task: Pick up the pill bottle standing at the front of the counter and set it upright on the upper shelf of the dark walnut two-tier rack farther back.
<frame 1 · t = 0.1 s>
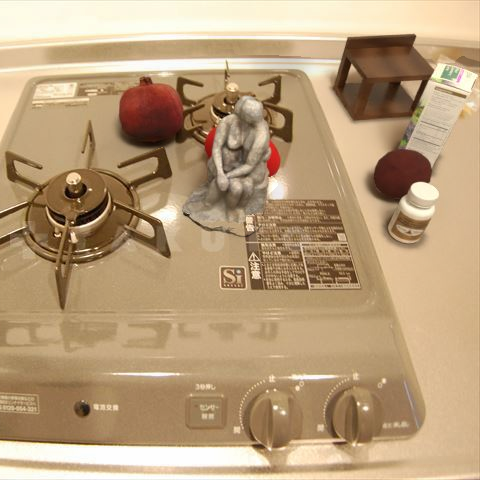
sculpture: (189, 167, 69), point 9 cm above the counter
rack: (375, 101, 97), on the counter
fruit: (155, 142, 87), on the counter
pill bottle: (403, 233, 75), on the counter
heart: (241, 125, 74), point 10 cm above the counter
syrup box: (414, 159, 86), on the counter
potato: (392, 193, 81), on the counter
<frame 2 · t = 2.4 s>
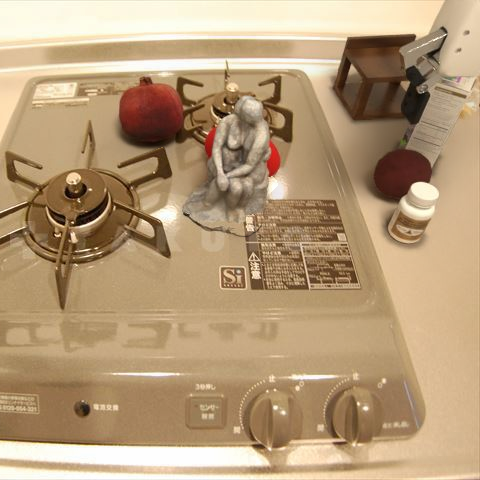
hand: (448, 115, 63), 18 cm above the counter, tool pointing down, fingers open, 9 cm apart
nothing on the counter moved.
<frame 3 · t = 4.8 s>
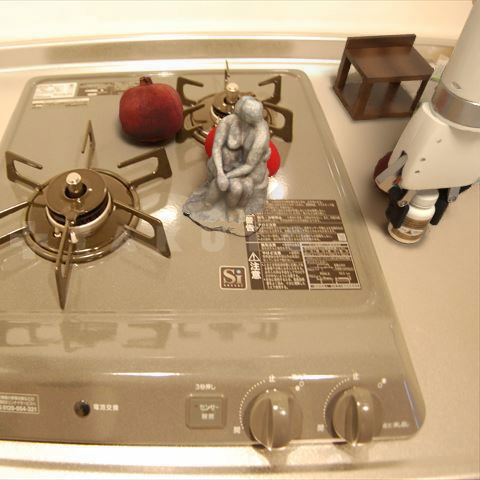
hand: (410, 218, 73), 3 cm above the counter, tool pointing down, fingers closed on pill bottle, 4 cm apart
pill bottle: (403, 233, 75), on the counter, touching gripper
everything else where it was.
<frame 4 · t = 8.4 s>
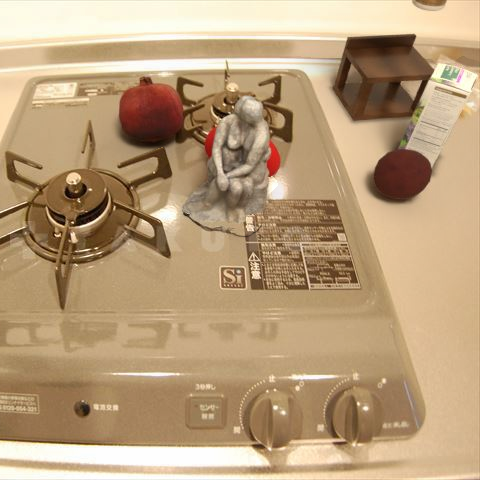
pill bottle: (427, 6, 77), point 20 cm above the counter, touching gripper
everything else where it was.
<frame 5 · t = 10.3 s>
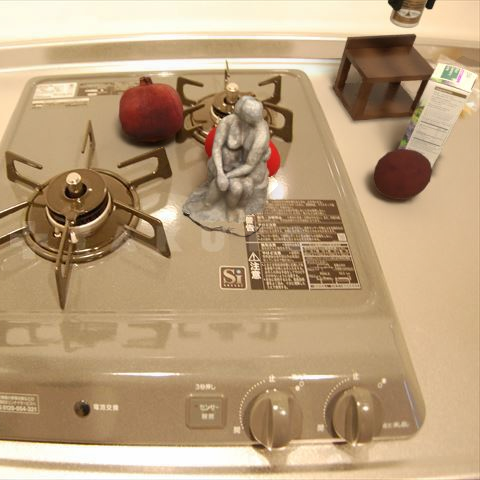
hand: (409, 5, 84), 17 cm above the counter, tool pointing down, fingers closed on pill bottle, 4 cm apart
pill bottle: (403, 23, 86), point 14 cm above the counter, touching gripper
everything else where it was.
when the fingers open (11 cm above the counter, at t = 12.1 s): pill bottle stays where it is, resting on rack.
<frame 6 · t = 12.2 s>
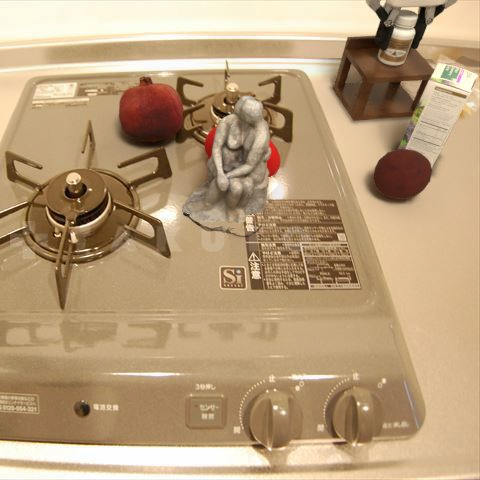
hand: (396, 44, 89), 11 cm above the counter, tool pointing down, fingers open, 4 cm apart
pill bottle: (390, 61, 91), point 8 cm above the counter, touching rack
everything else where it was.
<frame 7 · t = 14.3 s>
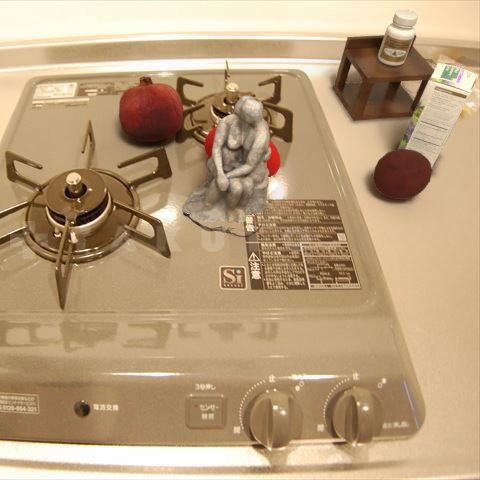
nothing on the counter moved.
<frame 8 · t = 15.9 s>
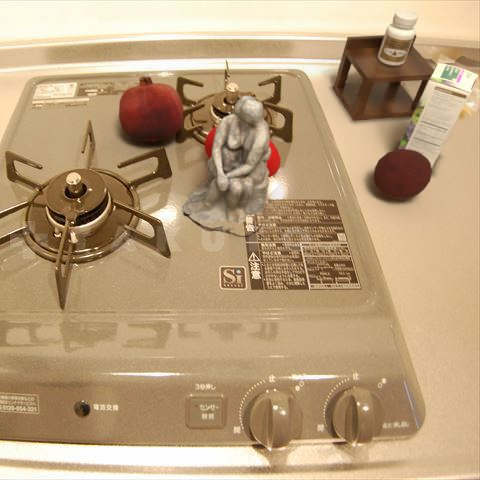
nothing on the counter moved.
at the end: pill bottle inside the target area on the rack (0.1 cm from its centre), point 7.8 cm above the rack's base; pill bottle tilted 0°; the gripper is holding nothing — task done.
